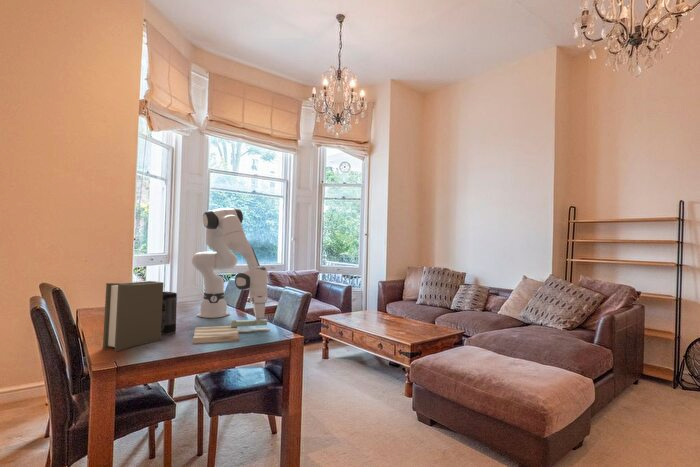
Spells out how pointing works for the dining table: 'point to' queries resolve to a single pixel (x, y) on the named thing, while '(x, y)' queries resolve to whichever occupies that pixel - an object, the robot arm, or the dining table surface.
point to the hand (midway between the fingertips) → (258, 323)
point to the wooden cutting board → (220, 333)
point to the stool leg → (248, 323)
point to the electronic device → (169, 313)
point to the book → (132, 314)
